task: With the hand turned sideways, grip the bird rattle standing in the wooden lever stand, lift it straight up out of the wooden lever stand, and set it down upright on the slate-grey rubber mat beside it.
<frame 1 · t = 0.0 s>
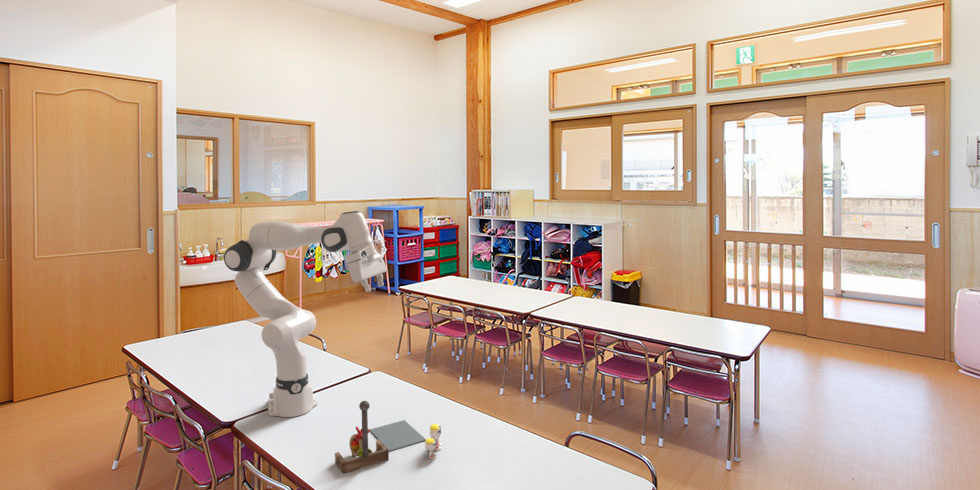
hand: (375, 288, 197), 52 cm above the table, tool tilted 20°, fingers open, 8 cm apart
toy figures: (434, 451, 183), on the table
mat: (397, 435, 194), on the table
wooden lever stand: (359, 457, 178), on the table
bird rattle: (359, 458, 178), resting in wooden lever stand
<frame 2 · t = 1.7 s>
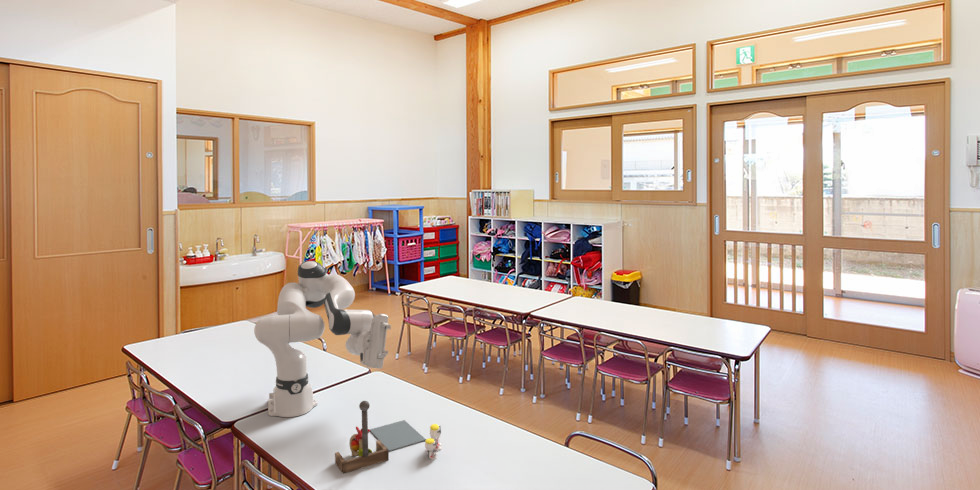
hand: (387, 339, 195), 34 cm above the table, tool pointing upward, fingers open, 8 cm apart
nothing on the table moved.
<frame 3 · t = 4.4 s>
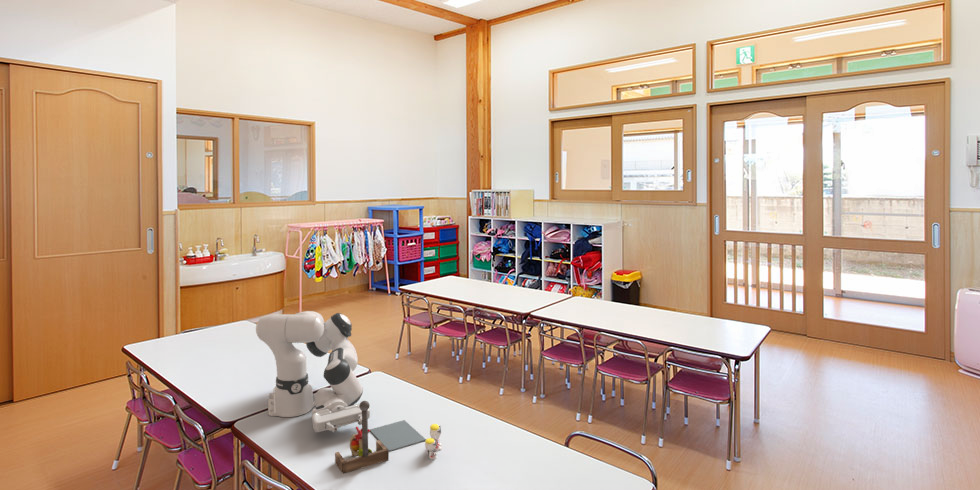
hand: (348, 426, 187), 6 cm above the table, tool horizontal, fingers open, 8 cm apart
nothing on the table moved.
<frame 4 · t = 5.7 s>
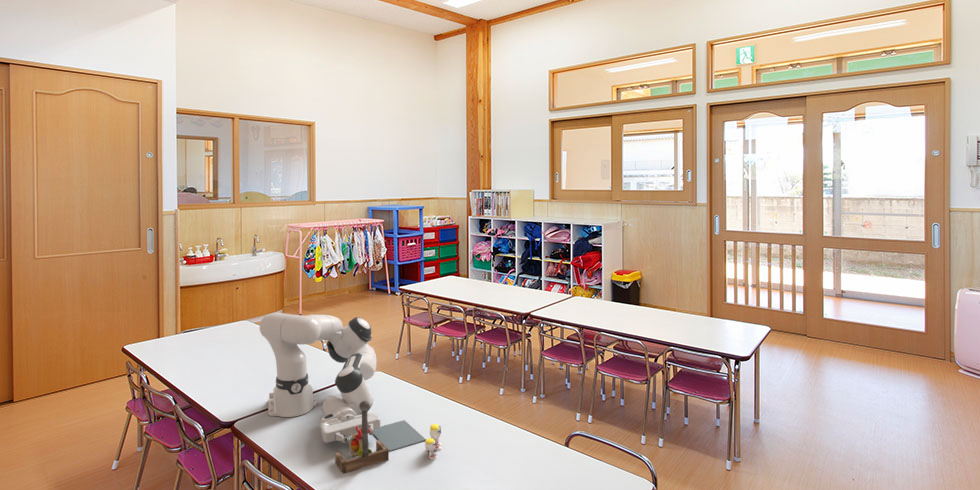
hand: (358, 436, 180), 6 cm above the table, tool horizontal, fingers open, 8 cm apart
nothing on the table moved.
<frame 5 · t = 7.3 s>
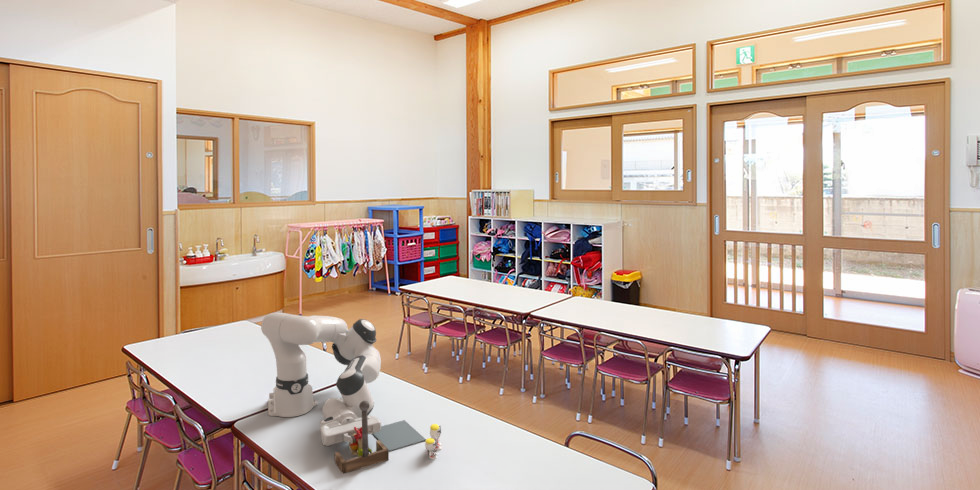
hand: (359, 439, 177), 7 cm above the table, tool horizontal, fingers closed on bird rattle, 3 cm apart
bird rattle: (359, 457, 178), resting in wooden lever stand, touching gripper
everything else where it was.
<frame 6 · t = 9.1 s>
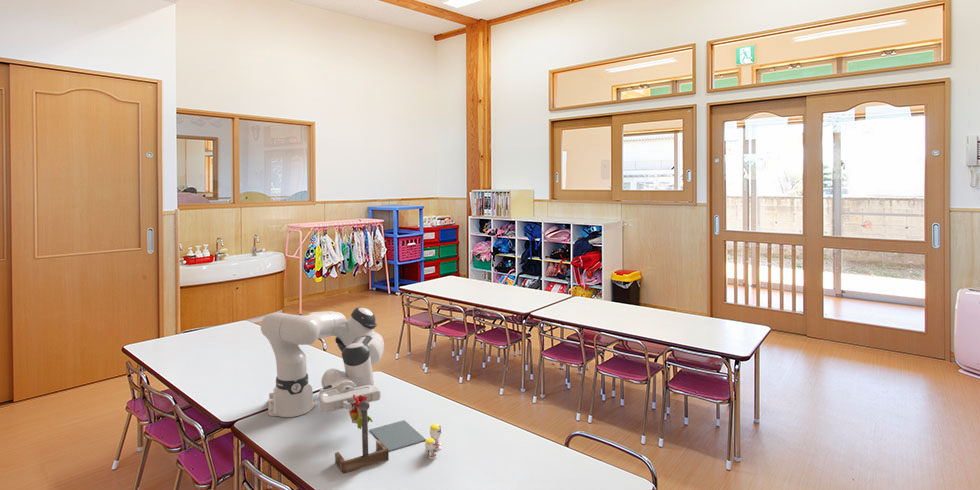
hand: (358, 406, 176), 18 cm above the table, tool horizontal, fingers closed on bird rattle, 2 cm apart
bird rattle: (359, 425, 177), point 11 cm above the table, touching gripper
everything else where it was.
when the fingers open (8 cm above the table, at t = 13.2 s): bird rattle moves 3 cm, resting on mat.
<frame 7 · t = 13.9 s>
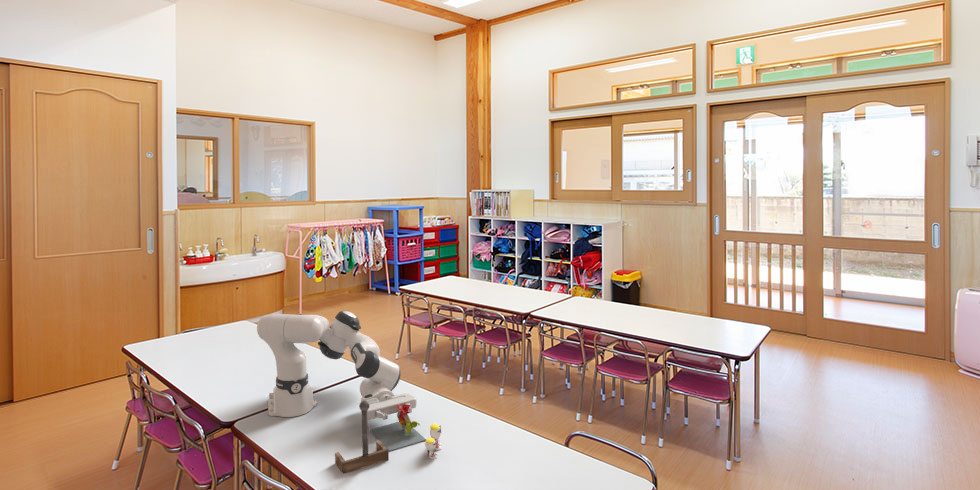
hand: (398, 414, 192), 8 cm above the table, tool horizontal, fingers open, 8 cm apart
bird rattle: (409, 430, 196), point 1 cm above the table, touching gripper, mat
everything else where it was.
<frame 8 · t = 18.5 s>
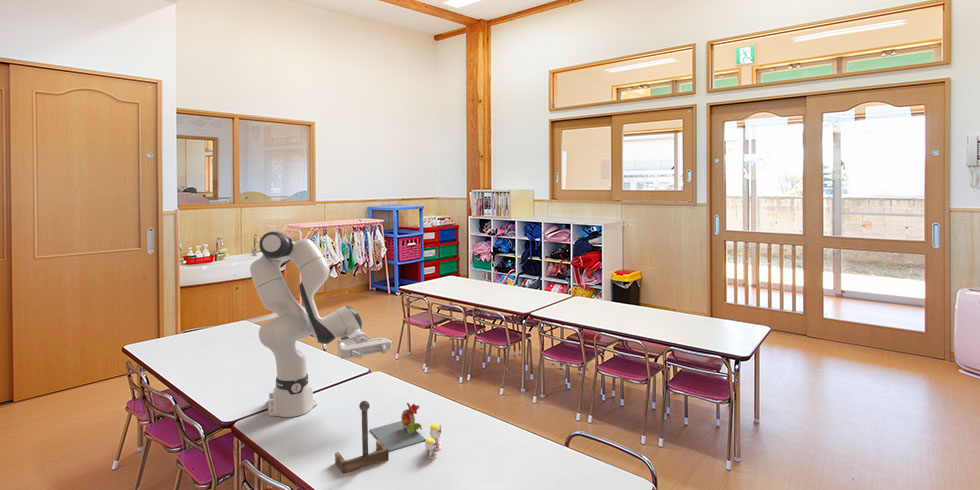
hand: (372, 353, 197), 28 cm above the table, tool horizontal, fingers open, 8 cm apart
bird rattle: (409, 431, 196), resting on mat
everything else where it was.
at the end: bird rattle inside the target area on the mat (4.9 cm from its centre), point 0.2 cm above the mat's base; bird rattle tilted 0°; the gripper is holding nothing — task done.
